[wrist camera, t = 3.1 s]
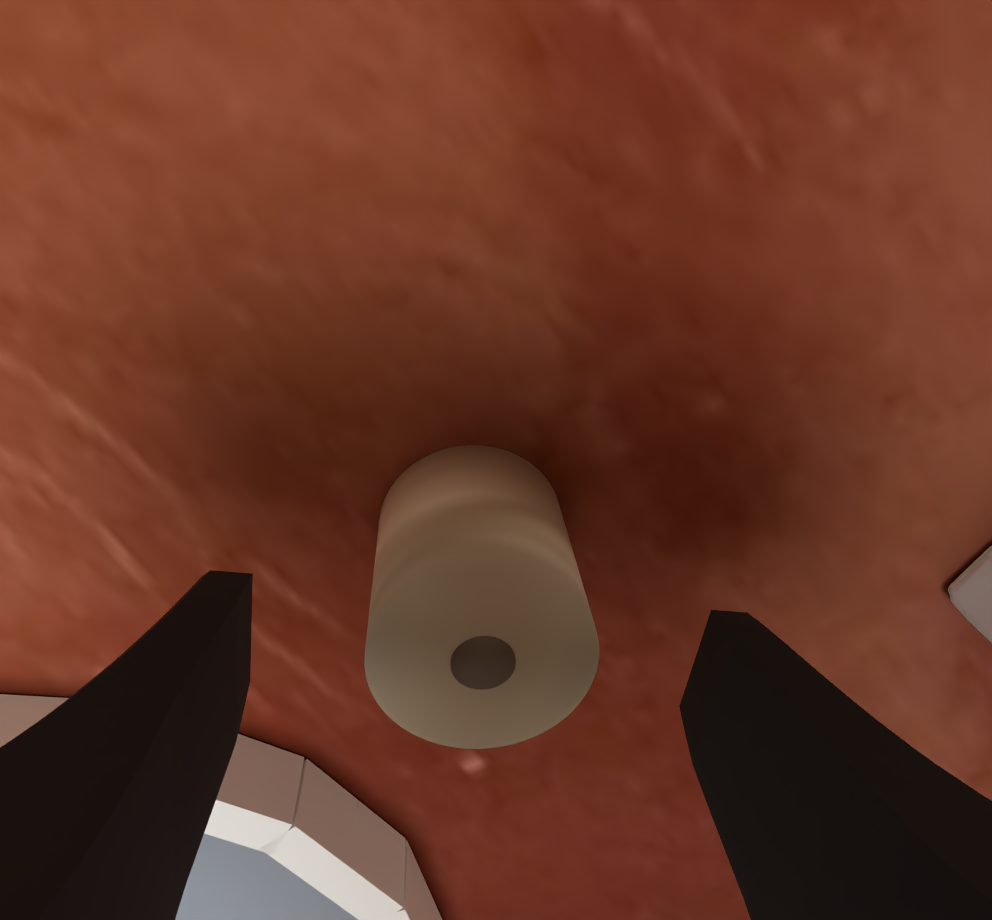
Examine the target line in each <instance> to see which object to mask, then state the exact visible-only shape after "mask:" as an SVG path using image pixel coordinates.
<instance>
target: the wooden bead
mask: <svg viewBox="0 0 992 920" xmlns="http://www.w3.org/2000/svg"><path fill="white" fill-rule="evenodd" d="M598 662H599V641H598V635H597V631H596V628H595V624H594V621H593V617H592V614H591V611H590V607H589V604H588V600H587V597H586V594H585V590H584V587H583V583H582V580H581V577H580V573H579V570H578V566H577V563H576V560H575V556H574V553H573V549H572V546H571V543H570V539H569V536H568V533H567V529H566V526H565V522H564V519H563V516H562V512H561V509H560V505H559V502H558V499H557V496H556V494H555V492H554V490H553V488H552V486H551V484H550V483H549V482H548V480H547V479H546V477H545V476H544V475H543V474H542V473H541V472H540V471H539V470H538V469H537V468H536V467H535V466H533V465H532V464H531V463H530V462H528V461H527V460H525V459H523V458H522V457H520V456H518V455H516V454H514V453H511V452H509V451H506V450H503V449H500V448H496V447H490V446H484V445H464V446H456V447H451V448H446V449H443V450H440V451H437V452H434V453H432V454H430V455H427V456H425V457H423V458H422V459H420V460H418V461H417V462H415V463H414V464H412V465H411V466H410V467H409V468H407V469H406V470H405V471H404V472H403V473H402V474H401V475H400V476H399V477H398V478H397V479H396V481H395V482H394V484H393V485H392V486H391V488H390V489H389V491H388V493H387V495H386V497H385V500H384V502H383V505H382V508H381V514H380V519H379V528H378V537H377V546H376V556H375V565H374V574H373V583H372V592H371V601H370V610H369V619H368V628H367V637H366V646H365V660H364V667H365V674H366V679H367V682H368V685H369V688H370V691H371V693H372V695H373V697H374V698H375V700H376V702H377V703H378V705H379V706H380V707H381V709H382V710H383V711H384V712H385V713H386V714H387V715H388V716H389V717H390V718H391V719H392V720H393V721H394V722H395V723H397V724H398V725H399V726H400V727H402V728H403V729H405V730H407V731H408V732H410V733H412V734H413V735H415V736H418V737H420V738H422V739H424V740H427V741H430V742H433V743H436V744H439V745H444V746H449V747H455V748H464V749H486V748H497V747H502V746H507V745H512V744H515V743H518V742H522V741H525V740H527V739H530V738H532V737H535V736H537V735H539V734H541V733H543V732H545V731H547V730H549V729H550V728H552V727H553V726H555V725H556V724H558V723H559V722H561V721H562V720H563V719H564V718H565V717H567V716H568V715H569V714H570V713H571V712H572V711H573V710H574V709H575V708H576V707H577V706H578V705H579V704H580V702H581V701H582V699H583V698H584V697H585V695H586V694H587V692H588V690H589V688H590V686H591V685H592V683H593V680H594V677H595V674H596V672H597V667H598Z"/></svg>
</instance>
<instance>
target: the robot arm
mask: <svg viewBox="0 0 992 920" xmlns="http://www.w3.org/2000/svg"><path fill="white" fill-rule="evenodd" d="M251 615H252V574H249V573H236V572H223V571H211V570H210V571H209V572H208V573H206V574H205V575H204V576H202V577H201V578H200V579H199V580H198V581H197V582H196V584H195V585H194V586H193V587H192V588H191V589H190V590H189V591H188V592H187V593H186V594H185V595H184V596H183V597H182V598H181V599H180V600H179V601H178V602H177V603H176V604H175V605H174V606H173V607H172V608H171V609H170V610H169V611H168V612H167V613H166V614H165V615H164V616H163V617H162V618H161V619H160V620H159V621H158V622H157V623H156V624H155V625H153V626H152V627H151V628H150V629H149V630H148V631H147V632H146V633H145V634H144V635H143V636H141V637H140V638H139V639H138V640H137V641H136V642H135V643H134V644H133V645H132V646H131V647H129V648H128V649H127V650H126V651H125V652H124V653H123V654H122V655H121V656H120V657H118V658H117V659H116V660H115V661H114V662H113V663H111V664H110V665H109V666H108V667H107V668H105V669H104V670H103V671H102V672H101V673H99V674H98V675H97V676H96V677H94V678H93V679H92V680H91V681H90V682H88V683H87V684H86V685H85V686H84V687H82V688H81V689H80V690H79V691H77V692H76V693H75V694H74V695H73V696H71V697H70V698H69V699H67V700H66V701H65V702H63V703H62V704H61V705H59V706H58V707H57V708H56V709H54V710H53V711H52V712H50V713H49V714H47V715H46V716H45V717H43V718H42V719H41V720H39V721H38V722H37V723H35V724H34V725H32V726H31V727H29V728H28V729H26V730H25V731H24V732H22V733H21V734H19V735H18V736H16V737H15V738H14V739H12V740H11V741H9V742H8V743H6V744H5V745H3V746H2V747H0V920H175V919H176V915H177V912H178V909H179V906H180V902H181V899H182V896H183V893H184V889H185V886H186V883H187V880H188V877H189V875H190V872H191V869H192V866H193V863H194V860H195V858H196V855H197V852H198V849H199V846H200V844H201V841H202V838H203V835H204V832H205V830H206V827H207V824H208V821H209V818H210V815H211V813H212V810H213V807H214V804H215V801H216V799H217V796H218V793H219V790H220V787H221V784H222V782H223V779H224V776H225V773H226V770H227V767H228V764H229V762H230V759H231V756H232V753H233V750H234V747H235V744H236V741H237V736H238V732H239V728H240V723H241V719H242V715H243V710H244V706H245V701H246V697H247V692H248V687H249V683H250V661H251ZM680 711H681V716H682V720H683V725H684V729H685V734H686V739H687V743H688V747H689V751H690V755H691V759H692V763H693V766H694V769H695V772H696V775H697V777H698V780H699V783H700V786H701V788H702V791H703V794H704V796H705V799H706V802H707V804H708V807H709V810H710V812H711V815H712V817H713V820H714V823H715V825H716V828H717V830H718V833H719V836H720V838H721V841H722V843H723V846H724V848H725V851H726V854H727V856H728V859H729V861H730V864H731V867H732V869H733V872H734V874H735V877H736V880H737V882H738V885H739V887H740V890H741V893H742V895H743V898H744V901H745V904H746V906H747V909H748V912H749V915H750V918H751V920H992V801H991V800H989V799H988V798H986V797H984V796H983V795H981V794H980V793H978V792H977V791H975V790H974V789H972V788H971V787H969V786H968V785H966V784H965V783H963V782H962V781H960V780H959V779H957V778H956V777H954V776H953V775H951V774H950V773H948V772H947V771H945V770H944V769H942V768H941V767H939V766H938V765H936V764H935V763H934V762H932V761H931V760H929V759H928V758H927V757H925V756H924V755H922V754H921V753H920V752H918V751H917V750H915V749H914V748H913V747H911V746H910V745H909V744H907V743H906V742H905V741H903V740H902V739H901V738H900V737H898V736H897V735H896V734H894V733H893V732H892V731H890V730H889V729H888V728H886V727H885V726H884V725H883V724H881V723H880V722H879V721H877V720H876V719H875V718H874V717H872V716H871V715H870V714H869V713H867V712H866V711H865V710H864V709H862V708H861V707H860V706H859V705H857V704H856V703H855V702H854V701H852V700H851V699H850V698H849V697H848V696H846V695H845V694H844V693H843V692H842V691H840V690H839V689H838V688H837V687H836V686H834V685H833V684H832V683H831V682H830V681H829V680H827V679H826V678H825V677H824V676H823V675H821V674H820V673H819V672H818V671H817V670H816V669H814V668H813V667H812V666H811V665H810V664H809V663H807V662H806V661H805V660H804V659H803V658H802V657H801V656H799V655H798V654H797V653H796V652H795V651H794V650H792V649H791V648H790V647H789V646H788V645H787V644H785V643H784V642H783V641H782V640H781V639H779V638H778V637H777V636H776V635H775V634H774V633H772V632H771V631H770V630H769V629H767V628H766V627H765V626H764V625H763V624H761V623H760V622H759V621H757V620H756V619H755V618H753V617H752V616H751V615H749V614H748V613H743V612H730V611H718V610H711V612H710V616H709V619H708V622H707V625H706V628H705V631H704V634H703V637H702V640H701V643H700V646H699V649H698V652H697V655H696V658H695V661H694V664H693V667H692V670H691V673H690V676H689V679H688V682H687V686H686V689H685V692H684V695H683V698H682V701H681V704H680Z"/></svg>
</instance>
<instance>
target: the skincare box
mask: <svg viewBox="0 0 992 920" xmlns="http://www.w3.org/2000/svg"><path fill="white" fill-rule="evenodd" d="M948 592H949V594H950V599H951V601H952V603H953V605H954V606H955V607H956V608H957V609H958V610H959V611H960V612H961V613H962V615H963V616H964V617H965V618H966V619H967V620H968V621H969V622H970V623H971V624H972V625H974V626H975V627H976V628H977V629H978V630H979V631H980V632H981V633H982V634H983V635H984V636H985V637H986V638H987V639H988V640H989V641H990V642H991V643H992V546H990V547H989V548H988V549H987V550H986V551H985V552H984V553H983V554H982V555H981V556H980V557H979V558H978V559H976V560H975V561H974V562H973V563H972V564H971V565H970V566H969V567H968V568H967V569H966V570H965V571H964V572H963V573H962V574H961V575H960V576H959V577H958V578H957V579H956V580H955V581H954V582H953V583H951V585H950V586H949V588H948Z"/></svg>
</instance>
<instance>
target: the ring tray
mask: <svg viewBox="0 0 992 920" xmlns="http://www.w3.org/2000/svg"><path fill="white" fill-rule="evenodd" d="M67 699H69V698H59V697H41V696H24V695H7V694H0V747H2V746H3V745H5V744H6V743H8V742H9V741H11V740H12V739H14V738H15V737H16V736H18V735H19V734H21V733H22V732H24V731H25V730H26V729H28V728H29V727H31V726H32V725H34V724H35V723H37V722H38V721H39V720H41V719H42V718H43V717H45V716H46V715H47V714H49V713H50V712H52V711H53V710H54V709H56V708H57V707H58V706H59V705H61V704H62V703H63V702H65V701H66V700H67ZM405 839H406V838H405V837H403V836H402V835H401V834H400V833H398V832H397V831H396V830H395V829H393V828H392V827H391V826H390V825H388V824H387V823H386V822H385V821H384V820H382V819H381V818H380V817H379V816H377V815H376V814H375V813H374V812H372V811H371V810H370V809H369V808H367V807H366V806H365V805H364V804H362V803H361V802H360V801H359V800H358V799H356V798H355V797H354V796H353V795H351V794H350V793H349V792H348V791H346V790H345V789H344V788H343V787H341V786H340V785H339V784H338V783H337V782H335V781H334V780H333V779H332V778H330V777H329V776H328V775H327V774H325V773H324V772H323V771H322V770H320V769H319V768H318V767H317V766H315V765H314V764H313V763H312V762H311V761H309V760H308V759H306V760H305V761H304V757H302V756H300V755H297V754H294V753H291V752H288V751H285V750H283V749H280V748H277V747H274V746H271V745H269V744H266V743H263V742H260V741H257V740H254V739H252V738H249V737H246V736H243V735H240V734H238V736H237V741H236V744H235V747H234V750H233V753H232V756H231V759H230V762H229V764H228V767H227V770H226V773H225V776H224V779H223V782H222V784H221V787H220V790H219V793H218V796H217V799H216V801H215V804H214V807H213V810H212V813H211V815H210V818H209V821H208V824H207V827H206V830H205V832H204V835H203V838H202V841H201V844H200V846H199V849H198V852H197V855H196V858H195V860H194V863H193V866H192V869H191V872H190V875H189V877H188V880H187V883H186V886H185V889H184V893H183V896H182V899H181V902H180V906H179V909H178V912H177V915H176V919H175V920H442V918H441V915H440V913H439V911H438V909H437V906H436V904H435V902H434V900H433V897H432V895H431V893H430V891H429V888H428V886H427V884H426V882H425V879H424V877H423V875H422V873H421V870H420V868H419V866H418V864H417V861H416V859H415V857H414V855H413V852H412V850H411V848H410V846H409V843H408V841H407V840H406V841H405Z"/></svg>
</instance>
